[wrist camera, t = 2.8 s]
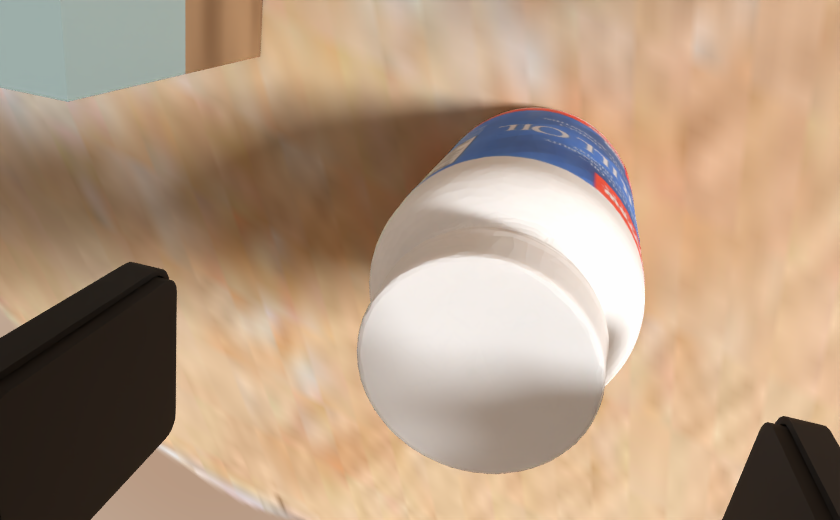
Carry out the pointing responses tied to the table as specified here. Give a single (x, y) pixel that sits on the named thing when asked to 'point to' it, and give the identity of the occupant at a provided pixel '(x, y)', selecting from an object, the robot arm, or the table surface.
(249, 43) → the tower base
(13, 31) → the tower top
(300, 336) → the table surface
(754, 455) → the robot arm
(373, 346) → the pill bottle
